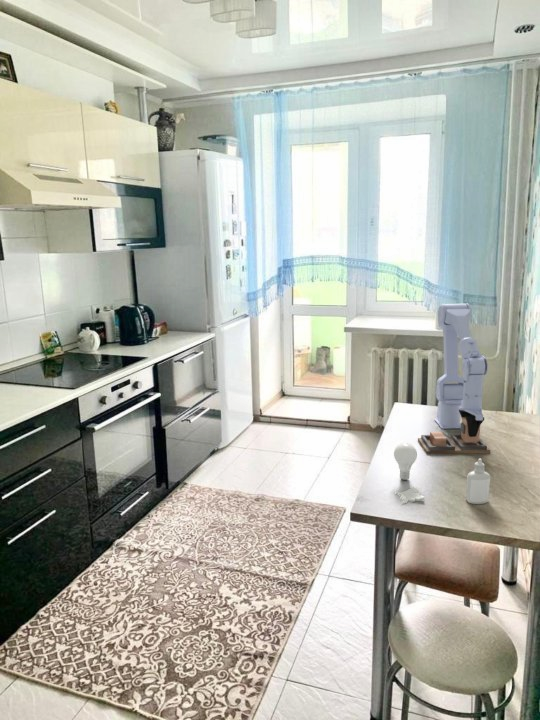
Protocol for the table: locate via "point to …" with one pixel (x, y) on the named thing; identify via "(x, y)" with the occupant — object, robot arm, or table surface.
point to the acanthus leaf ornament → (410, 495)
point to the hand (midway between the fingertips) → (469, 433)
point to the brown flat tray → (450, 444)
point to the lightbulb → (405, 458)
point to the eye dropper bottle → (478, 484)
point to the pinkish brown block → (465, 432)
